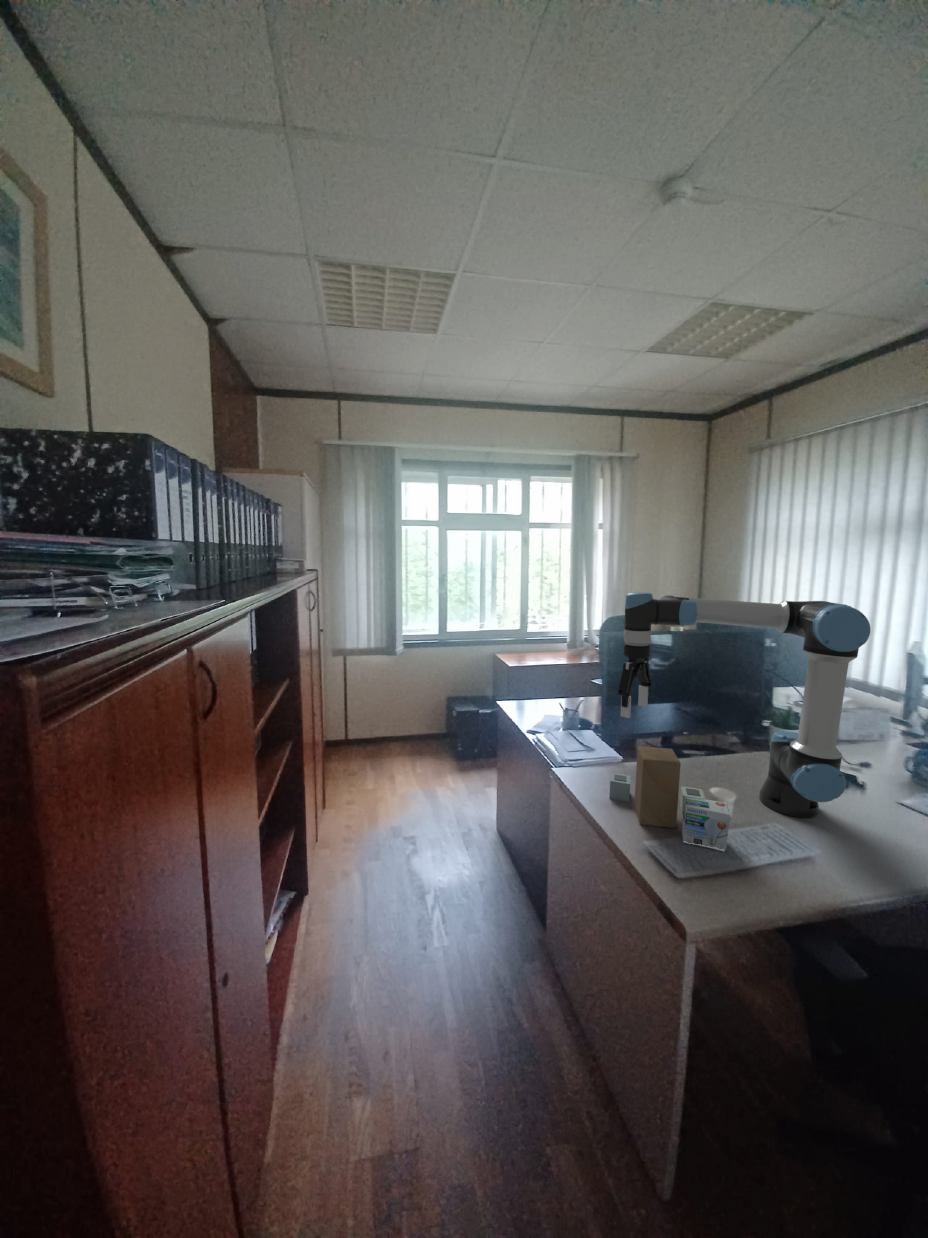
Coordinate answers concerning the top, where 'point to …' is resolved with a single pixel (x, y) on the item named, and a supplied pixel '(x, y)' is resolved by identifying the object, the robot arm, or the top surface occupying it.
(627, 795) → the slate cube
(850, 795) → the top surface
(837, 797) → the robot arm
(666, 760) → the wooden block
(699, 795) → the sage cube
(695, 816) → the light bulb box
